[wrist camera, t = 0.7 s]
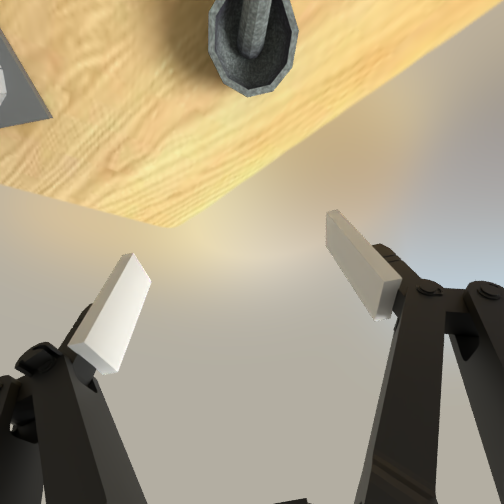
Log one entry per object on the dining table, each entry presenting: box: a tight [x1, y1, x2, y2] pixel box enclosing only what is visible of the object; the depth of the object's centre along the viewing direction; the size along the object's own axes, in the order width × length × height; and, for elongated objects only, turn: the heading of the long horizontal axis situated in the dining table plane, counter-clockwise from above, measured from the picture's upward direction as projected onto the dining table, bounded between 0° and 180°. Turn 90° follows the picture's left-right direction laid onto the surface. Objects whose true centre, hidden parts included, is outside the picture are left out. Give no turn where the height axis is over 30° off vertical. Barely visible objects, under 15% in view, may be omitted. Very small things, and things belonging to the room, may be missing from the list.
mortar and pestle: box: [208, 0, 299, 97], centre depth 24 cm, size 11×9×12 cm
